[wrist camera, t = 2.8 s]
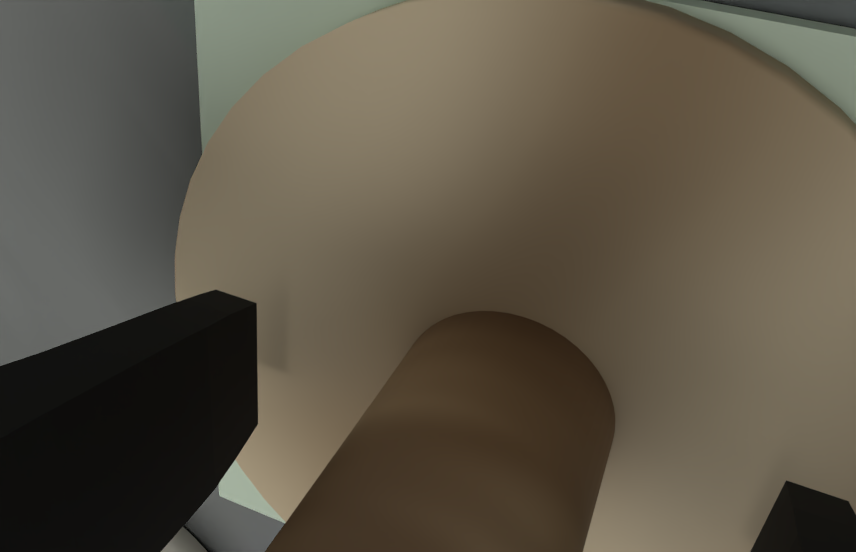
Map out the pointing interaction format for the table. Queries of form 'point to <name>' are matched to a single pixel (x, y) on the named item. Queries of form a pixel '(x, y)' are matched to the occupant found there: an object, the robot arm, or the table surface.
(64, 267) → the table surface
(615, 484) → the lid
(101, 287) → the table surface
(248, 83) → the mat
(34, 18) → the table surface
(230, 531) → the table surface
